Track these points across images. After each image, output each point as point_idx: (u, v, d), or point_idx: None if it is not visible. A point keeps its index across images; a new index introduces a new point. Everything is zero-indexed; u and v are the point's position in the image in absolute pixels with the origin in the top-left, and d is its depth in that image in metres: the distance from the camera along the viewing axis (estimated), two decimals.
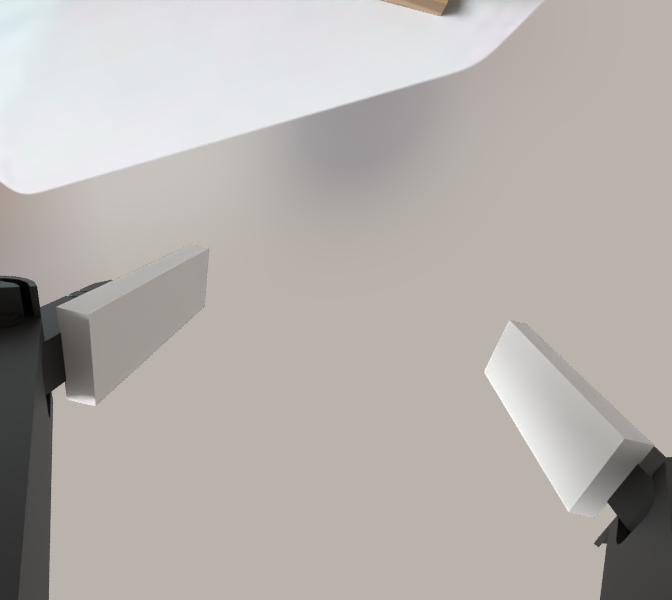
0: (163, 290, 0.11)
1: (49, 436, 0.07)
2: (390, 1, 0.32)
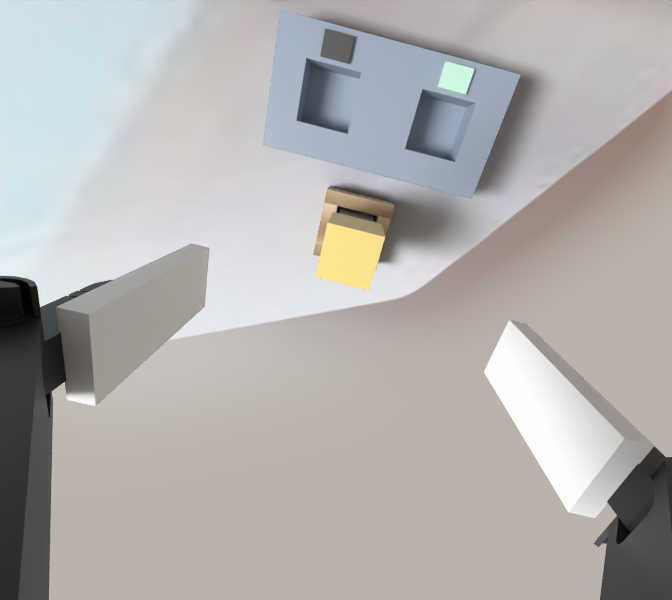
0: (163, 289, 0.11)
1: (49, 436, 0.07)
2: None
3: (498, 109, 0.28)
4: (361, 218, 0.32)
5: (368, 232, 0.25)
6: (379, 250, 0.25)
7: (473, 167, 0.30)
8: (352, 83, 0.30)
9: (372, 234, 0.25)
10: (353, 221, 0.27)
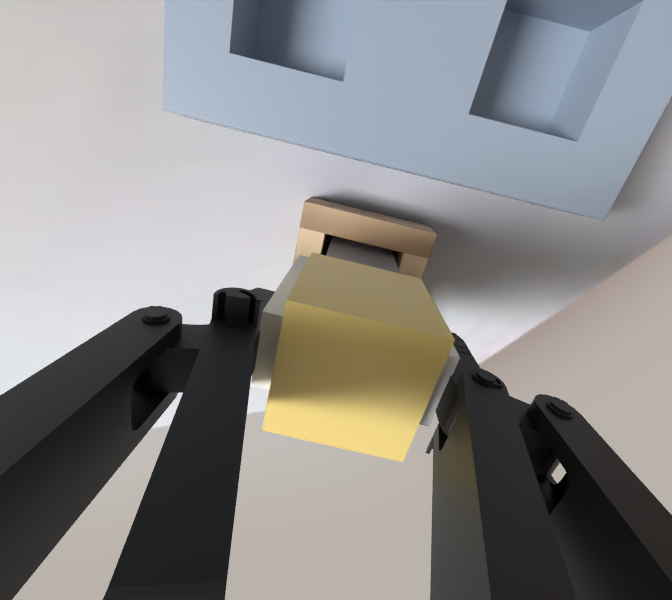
0: None
1: None
2: None
3: None
4: (372, 259, 0.16)
5: (405, 325, 0.09)
6: (435, 373, 0.09)
7: (617, 153, 0.14)
8: None
9: (417, 332, 0.09)
10: (359, 280, 0.11)
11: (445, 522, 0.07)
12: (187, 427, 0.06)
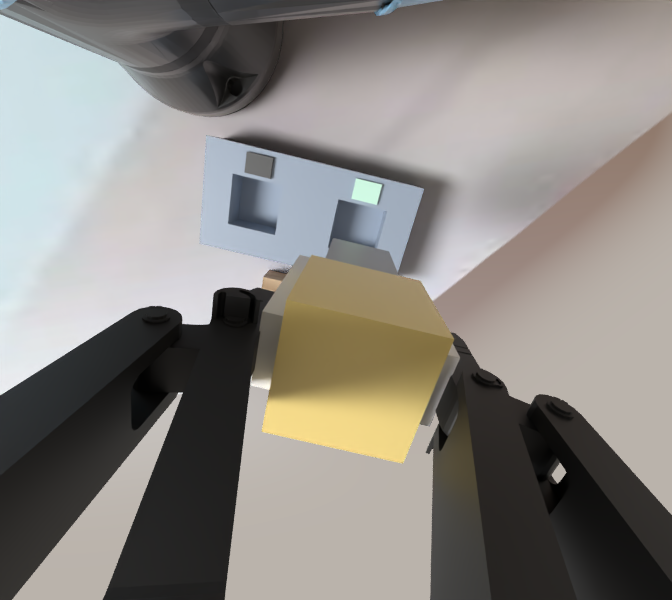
0: None
1: None
2: None
3: (407, 216, 0.31)
4: (371, 263, 0.16)
5: (404, 324, 0.09)
6: (435, 372, 0.09)
7: None
8: (281, 186, 0.33)
9: (417, 331, 0.09)
10: (358, 282, 0.11)
11: (445, 522, 0.07)
12: (187, 427, 0.06)
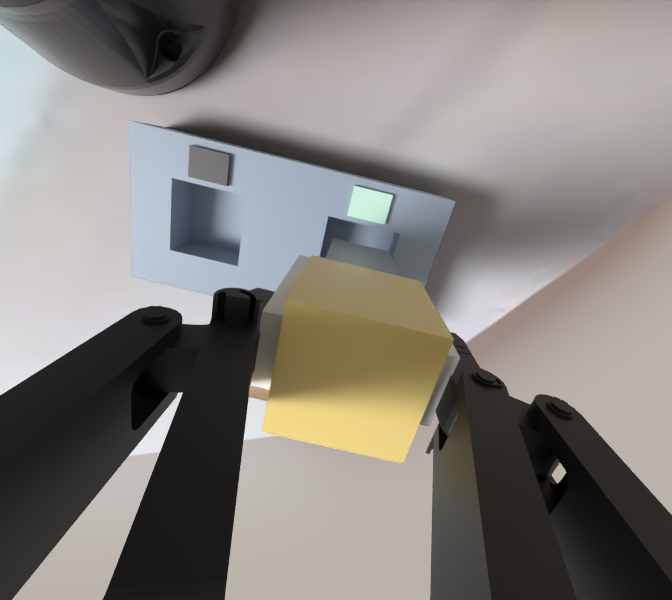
0: None
1: None
2: None
3: (430, 241, 0.21)
4: (371, 263, 0.16)
5: (404, 325, 0.09)
6: (435, 373, 0.09)
7: None
8: None
9: (417, 331, 0.09)
10: (358, 282, 0.11)
11: (445, 522, 0.07)
12: (187, 427, 0.06)
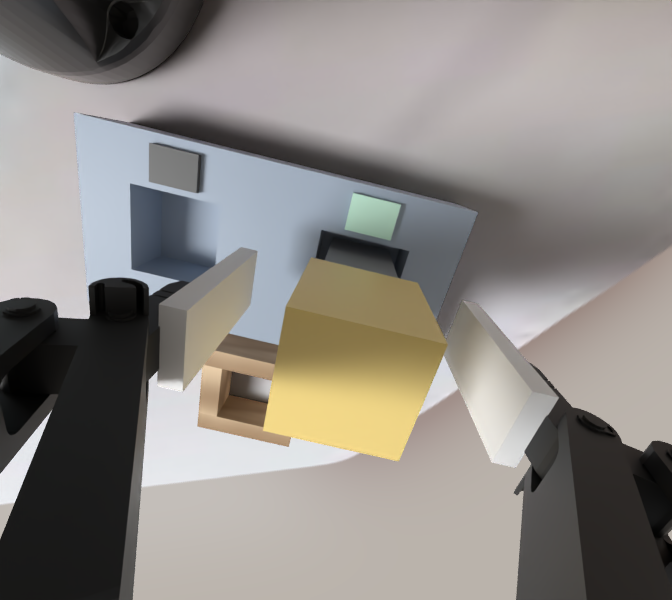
0: (228, 289, 0.12)
1: (144, 422, 0.08)
2: None
3: (445, 260, 0.17)
4: (370, 263, 0.16)
5: (400, 330, 0.09)
6: (429, 376, 0.09)
7: None
8: None
9: (412, 337, 0.09)
10: (357, 285, 0.12)
11: (536, 565, 0.06)
12: (63, 438, 0.05)
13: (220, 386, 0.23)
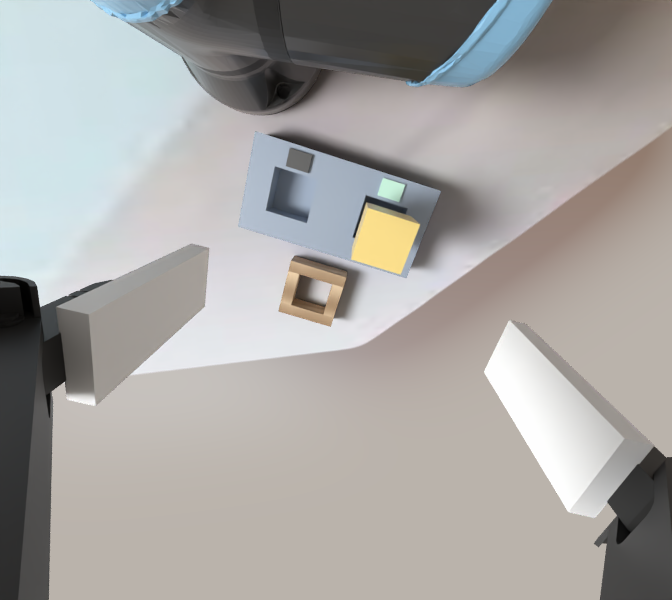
0: (163, 290, 0.11)
1: (49, 436, 0.07)
2: None
3: (425, 214, 0.35)
4: None
5: (404, 219, 0.27)
6: (413, 236, 0.27)
7: None
8: (313, 181, 0.37)
9: (408, 221, 0.27)
10: (387, 210, 0.29)
11: None
12: None
13: (296, 285, 0.41)
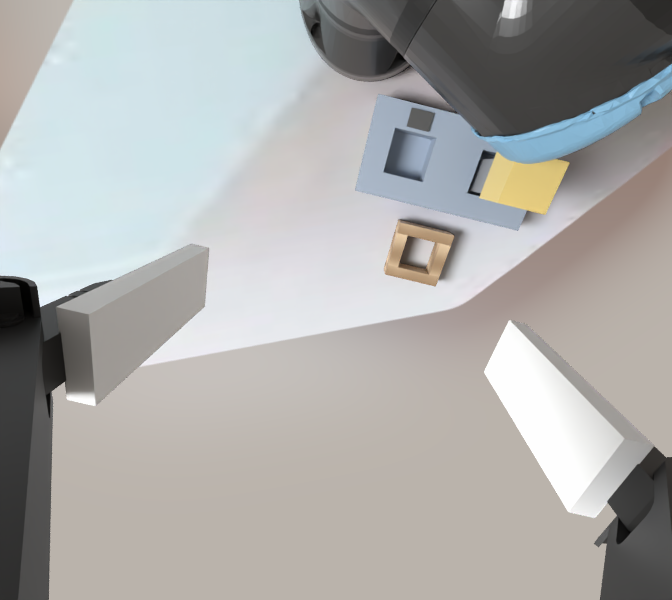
0: (164, 290, 0.11)
1: (49, 436, 0.07)
2: None
3: None
4: None
5: None
6: (562, 175, 0.28)
7: None
8: (424, 142, 0.39)
9: (558, 160, 0.28)
10: None
11: None
12: None
13: (403, 247, 0.42)
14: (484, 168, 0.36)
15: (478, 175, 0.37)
